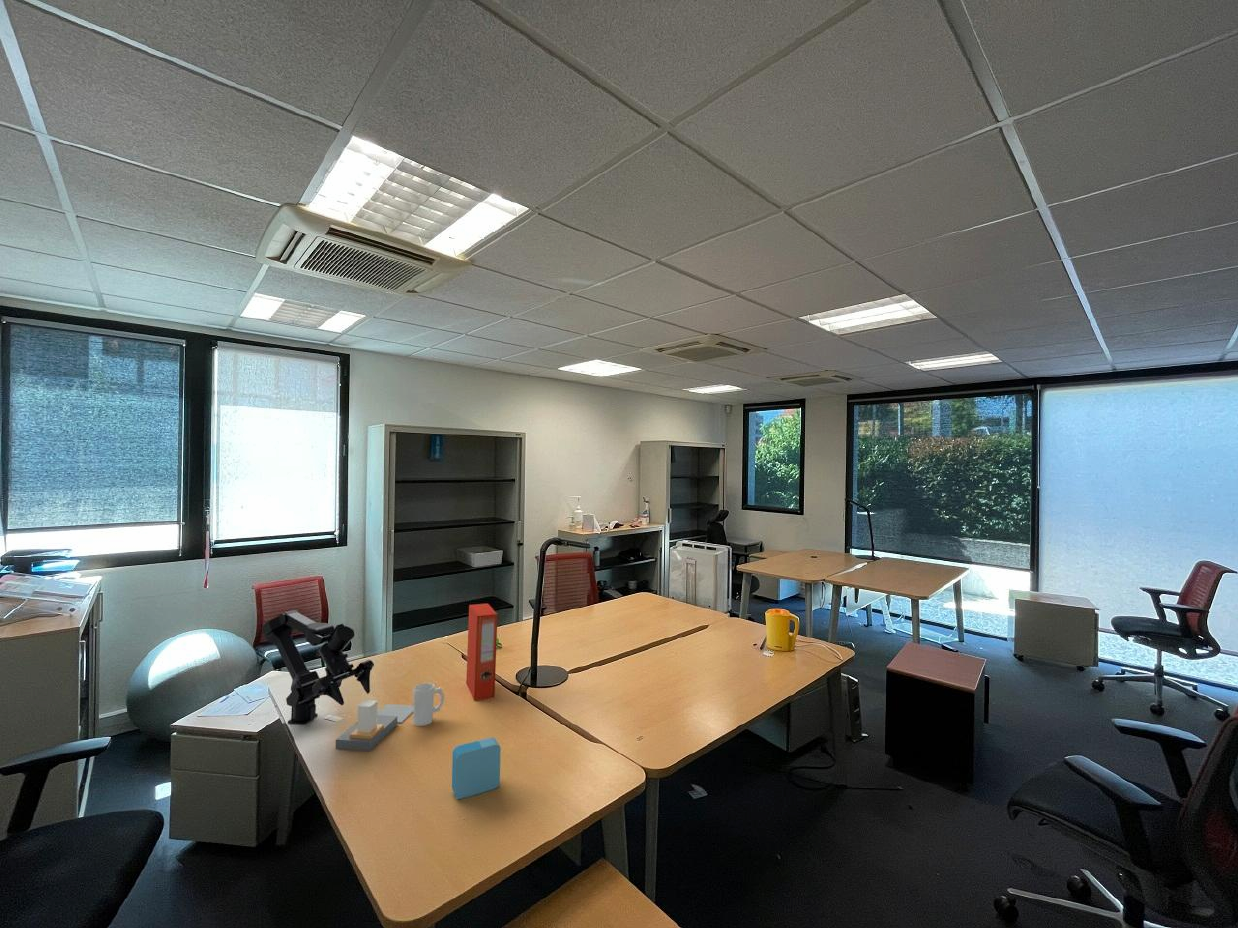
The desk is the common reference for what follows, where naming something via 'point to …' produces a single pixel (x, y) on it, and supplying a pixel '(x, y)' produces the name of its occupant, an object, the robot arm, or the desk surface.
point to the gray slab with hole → (366, 744)
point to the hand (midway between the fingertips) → (356, 698)
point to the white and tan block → (367, 721)
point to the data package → (475, 767)
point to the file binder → (481, 651)
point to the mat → (397, 711)
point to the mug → (425, 703)
